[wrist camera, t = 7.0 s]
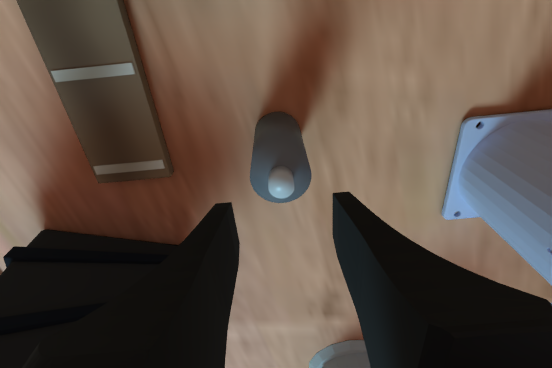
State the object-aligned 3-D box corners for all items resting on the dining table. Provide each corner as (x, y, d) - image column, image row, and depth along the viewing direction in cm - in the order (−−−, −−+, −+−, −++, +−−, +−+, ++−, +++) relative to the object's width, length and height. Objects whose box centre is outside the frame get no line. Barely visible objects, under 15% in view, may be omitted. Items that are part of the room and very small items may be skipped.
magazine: (-23, 232, 21) (-151, 509, 10) (171, 209, 27) (222, 366, 16) (-8, 270, 23) (-104, 540, 12) (170, 240, 29) (216, 400, 18)
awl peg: (298, 109, 19) (313, 154, 13) (301, 152, 21) (314, 211, 14) (252, 114, 19) (244, 161, 13) (257, 156, 21) (253, 216, 15)
